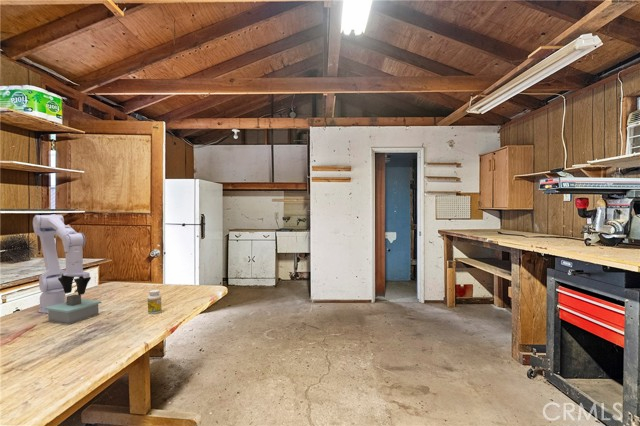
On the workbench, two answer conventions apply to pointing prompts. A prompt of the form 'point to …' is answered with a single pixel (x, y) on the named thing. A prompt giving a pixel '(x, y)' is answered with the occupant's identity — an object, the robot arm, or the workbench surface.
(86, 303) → the teal lid
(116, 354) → the workbench surface
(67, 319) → the grey bin
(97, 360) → the workbench surface
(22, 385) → the workbench surface
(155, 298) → the supplement bottle
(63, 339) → the workbench surface
